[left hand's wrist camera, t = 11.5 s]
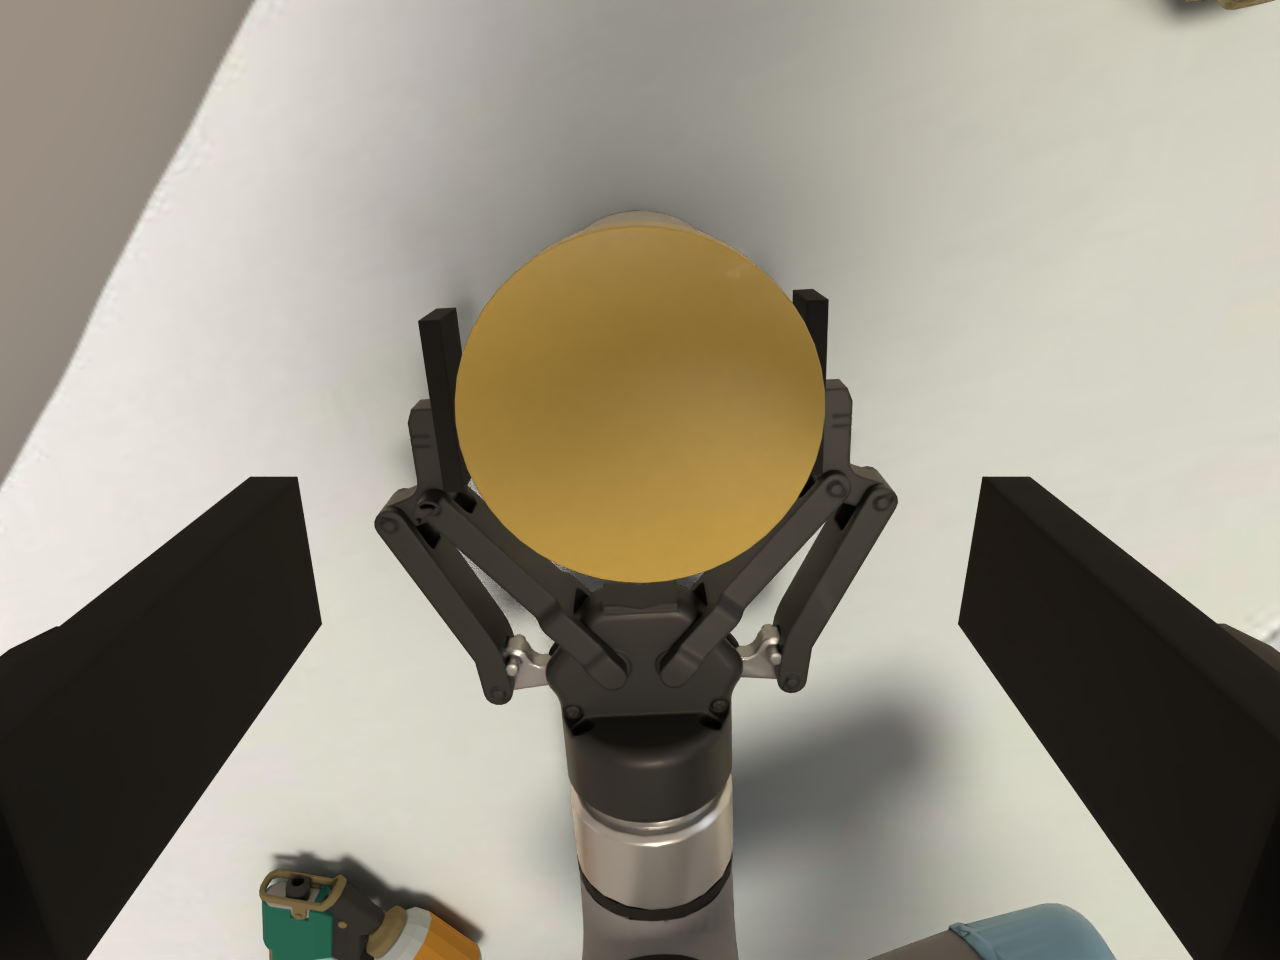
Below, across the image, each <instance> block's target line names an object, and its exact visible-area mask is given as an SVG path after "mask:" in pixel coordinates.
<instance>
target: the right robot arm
mask: <svg viewBox="0 0 1280 960" xmlns="http://www.w3.org/2000/svg"><path fill="white" fill-rule="evenodd" d="M828 301H829V300H828V299H827V298H825V297H824V296H822V295H821V294H819V293H818V292H816V291H815V290H814V289H804V290H793V305H794V306H795V308H796V310H797V311H798V313H799V314H800V316H801V317H802V319H803V321H804V322H805V324H806V327H807V329H808V331H809V333H810V335H811V338H812V340H813V342H814V344H815V348H816V351H817V355H818V358H819V361H820V365H821V369H822V376H823V383H824V389H825V418H824V426H823V434H822V439H821V443H820V447H819V451H818V454H817V458H816V461H815V464H814V466H813V468H812V471H811V473H810V476H809V478H808V480H807V482H806V484H805V486H804V487H803V489H802V491H801V493H800V494H799V496H798V498H797V500H796V501H795V502H794V504H793V505H792V506H791V508H790V509H789V510H788V512H787V513H786V514H785V516H784V517H783V518H782V519H781V520H780V521H779V522H778V523H777V524H776V525H775V526H774V528H773V529H772V530H771V531H770V532H769V533H768V534H767V535H765V536H764V537H763V538H762V539H760V540H759V541H758V542H757V543H755V544H754V545H753V546H752V547H750V548H749V549H748V550H746V551H744V552H743V553H741V554H739V555H738V556H736V557H735V558H733V559H731V560H730V561H727V562H725V563H723V564H721V565H719V566H717V567H714V568H712V569H710V570H707V571H705V572H704V573H703V575H702V576H701V577H700V578H699V579H698V580H697V581H696V582H695V584H694V585H693V586H692V587H691V588H690V589H688V588H686V587H684V586H681V585H677V584H676V579H675V580H669V581H660V582H650V583H647V584H644V585H635V584H630V583H625V582H610V583H604V588H601V589H599V590H596V591H595V592H593V593H591V592H590V591H589V590H588V589H587V588H586V587H585V586H584V585H583V584H582V583H581V582H579V581H578V580H577V579H576V578H575V577H574V576H573V575H572V574H570V573H568V572H565V573H564V572H562V571H561V570H559V569H558V568H557V567H556V566H555V565H554V564H553V563H552V562H551V561H550V560H549V559H547V558H545V557H544V556H542V555H540V554H538V553H537V552H536V551H534V550H533V549H531V548H530V547H529V546H527V545H526V544H524V543H523V542H522V541H520V540H519V539H518V538H517V537H516V536H515V535H514V534H513V533H512V532H511V531H509V530H508V529H507V528H506V527H505V526H504V525H503V524H502V523H501V521H500V520H499V519H498V518H497V517H496V515H495V514H494V513H493V512H492V511H491V509H490V508H489V507H488V505H487V504H486V502H485V501H484V500H483V499H482V498H481V497H480V496H478V495H477V494H476V493H475V492H474V491H473V490H472V489H471V488H470V487H469V486H468V483H469V481H470V479H471V476H470V473H469V471H468V469H467V467H466V463H465V460H464V457H463V454H462V451H461V448H460V444H459V438H458V433H457V427H456V417H455V392H456V381H457V374H458V370H459V366H460V361H461V357H462V349H461V342H460V334H459V327H458V319H457V312H456V308H440V309H435V310H434V311H432V312H431V313H429V314H428V315H426V316H425V317H423V318H422V319H420V320H419V321H418V324H419V330H420V337H421V344H422V350H423V357H424V363H425V370H426V377H427V383H428V390H429V396H430V399H425V400H420V401H419V402H418V403H417V404H416V405H415V406H414V407H413V408H412V409H411V412H410V416H409V420H408V427H409V433H410V437H411V445H412V451H413V458H414V464H415V470H416V476H417V485H416V486H414V487H411V488H409V489H408V488H402V489H399V490H397V491H396V492H395V493H394V494H393V496H392V497H391V498H390V500H389V501H388V502H387V504H386V505H385V506H384V508H383V509H382V510H381V511H380V513H379V514H378V515H377V517H376V519H375V521H374V522H375V529H376V531H377V533H378V534H379V535H380V536H381V538H382V539H383V540H384V542H385V543H386V544H387V546H388V547H389V548H390V550H391V551H392V552H393V554H394V555H395V556H396V558H397V559H398V560H399V562H400V563H401V564H402V566H403V567H404V568H405V570H406V571H407V572H408V574H409V575H410V576H411V578H412V579H413V580H414V582H415V583H416V584H417V586H418V587H419V588H420V590H421V591H422V592H423V594H424V595H425V596H426V598H427V599H428V600H429V602H430V603H431V604H432V606H433V607H434V608H435V610H436V611H437V612H438V614H439V615H440V616H441V618H442V619H443V620H444V621H445V623H446V624H447V625H448V627H449V628H450V629H451V631H452V632H453V633H454V635H455V636H456V637H457V639H458V640H459V641H460V643H461V644H462V645H463V647H464V648H465V649H466V651H467V652H468V653H469V655H470V656H471V657H472V659H473V660H474V661H475V663H476V667H477V670H478V674H479V677H480V681H481V685H482V688H483V692H484V695H485V697H486V699H487V700H488V701H489V702H491V703H493V704H496V705H502V704H506V703H507V702H509V701H510V700H511V698H512V695H513V691H514V690H516V689H523V688H530V687H537V686H544V685H549V686H550V688H551V689H552V690H553V691H554V692H555V694H556V695H557V697H558V699H559V701H560V704H561V709H562V718H563V728H564V737H565V747H566V757H567V766H568V774H569V779H570V782H571V786H570V796H571V805H572V813H573V821H574V830H575V838H576V846H577V858H578V864H579V870H580V877H581V892H582V907H583V926H584V938H583V956H582V960H738V952H737V944H736V934H735V922H734V901H733V880H732V848H733V801H732V776H731V768H732V721H731V696H732V692H733V689H734V687H735V685H736V684H737V682H738V681H739V679H740V677H750V678H769V679H777V682H778V685H779V687H780V688H781V689H782V690H783V691H785V692H788V693H795V692H798V691H800V690H801V689H802V688H803V687H804V686H805V684H806V681H807V675H808V668H809V662H810V656H811V650H812V647H813V645H814V644H815V642H816V640H817V639H818V637H819V635H820V634H821V632H822V630H823V629H824V627H825V625H826V624H827V622H828V620H829V619H830V617H831V615H832V614H833V612H834V610H835V609H836V607H837V605H838V604H839V602H840V600H841V599H842V597H843V595H844V594H845V592H846V590H847V589H848V587H849V585H850V584H851V582H852V580H853V579H854V577H855V575H856V574H857V572H858V570H859V569H860V567H861V565H862V564H863V562H864V560H865V559H866V557H867V555H868V554H869V552H870V550H871V549H872V547H873V545H874V544H875V542H876V540H877V539H878V537H879V535H880V534H881V532H882V530H883V529H884V527H885V525H886V524H887V522H888V520H889V519H890V517H891V515H892V514H893V512H894V510H895V509H896V506H897V504H898V499H897V496H896V494H895V492H894V491H893V490H892V488H891V487H890V486H889V485H888V483H887V482H886V481H885V480H884V478H883V477H882V476H881V475H880V473H879V472H878V471H877V470H876V469H874V468H873V467H869V466H866V467H859V466H856V465H853V464H850V443H851V421H852V417H851V415H852V399H851V396H850V393H849V391H848V388H847V387H846V386H845V385H844V384H843V383H842V382H841V381H840V380H839V379H829V380H826V360H827V330H828ZM826 520H827V521H826ZM825 521H826V523H825ZM824 523H825V524H824ZM823 524H824V526H823V528H822V530H821V531H820V533H819V535H818V537H817V538H816V540H815V542H814V544H813V545H812V547H811V549H810V551H809V552H808V554H807V556H806V558H805V559H804V561H803V563H802V565H801V566H800V568H799V570H798V572H797V573H796V575H795V577H794V579H793V580H792V582H791V584H790V586H789V587H788V589H787V591H786V593H785V594H784V596H783V598H782V600H781V602H780V604H779V606H778V608H777V611H776V614H775V617H774V621H773V625H771V624H765V625H763V626H762V628H761V630H760V631H759V632H758V634H757V637H756V639H755V640H754V641H753V642H752V643H751V644H749V645H746V646H739V644H738V642H737V640H736V639H735V638H734V637H733V635H732V634H731V633H730V632H731V631H732V630H733V629H734V628H735V627H736V626H737V624H738V623H739V622H740V620H741V618H742V615H743V612H744V610H745V608H746V607H747V606H748V605H749V603H750V602H751V601H752V600H753V599H754V598H755V597H756V596H757V595H758V594H759V593H760V592H761V591H762V589H763V588H764V587H765V586H766V585H767V584H768V583H769V582H770V581H771V580H772V579H773V578H774V577H775V575H776V574H777V573H778V572H779V571H780V570H781V569H782V568H783V567H784V566H785V565H786V564H787V562H788V561H789V560H790V559H791V558H792V557H793V556H794V555H795V554H796V553H797V552H798V551H799V550H800V548H801V547H802V546H803V545H804V544H805V543H806V542H807V541H808V540H809V539H810V538H811V537H812V536H813V534H814V533H815V532H816V531H817V530H818V529H819V528H820V527H821V526H822V525H823ZM456 547H457V548H458V549H459V550H460V551H461V552H462V553H463V554H465V555H466V556H467V557H468V558H469V559H470V560H471V561H472V562H474V563H475V564H476V565H477V566H478V567H479V568H480V569H482V570H483V571H484V572H485V573H486V574H487V575H488V576H489V577H491V578H492V579H493V580H494V581H495V582H496V583H497V584H499V585H500V586H501V587H502V588H503V589H504V590H505V591H506V592H508V593H509V594H510V595H511V596H512V597H513V598H514V599H516V600H517V601H518V602H519V603H520V604H521V605H522V606H523V607H525V608H526V609H527V610H528V611H529V612H530V613H531V614H533V615H534V616H535V617H536V619H537V620H538V623H539V625H540V627H541V629H542V630H543V632H544V633H545V634H546V635H548V636H549V637H550V638H551V639H552V640H553V641H554V642H555V643H554V644H553V646H552V647H551V649H550V651H549V654H540V653H537V652H535V651H534V650H533V649H532V648H531V646H530V645H529V643H528V642H527V641H526V638H525V637H524V636H523V635H519V634H518V635H515V636H514V634H513V631H512V628H511V626H510V624H509V622H508V620H507V618H506V617H505V615H504V613H503V612H502V610H501V609H500V608H499V606H498V605H497V603H496V602H495V601H494V599H493V598H492V596H491V595H490V594H489V592H488V591H487V590H486V588H485V587H484V585H483V584H482V583H481V581H480V580H479V578H478V577H477V576H476V574H475V573H474V571H473V570H472V569H471V567H470V566H469V564H468V563H467V562H466V560H465V559H464V558H463V556H462V555H461V553H460V552H459V551H458V549H457V548H456ZM868 960H1116V958H1115V957H1114V955H1113V954H1112V952H1111V950H1110V949H1109V947H1108V946H1107V944H1106V943H1105V941H1104V940H1103V938H1102V937H1101V935H1100V934H1099V933H1098V931H1097V930H1096V929H1095V928H1094V926H1093V925H1092V924H1091V923H1090V922H1089V921H1088V920H1087V919H1086V918H1085V917H1084V916H1083V915H1081V914H1080V913H1079V912H1077V911H1075V910H1074V909H1072V908H1070V907H1068V906H1065V905H1061V904H1049V903H1047V904H1041V905H1037V906H1033V907H1029V908H1025V909H1022V910H1018V911H1014V912H1010V913H1006V914H1003V915H999V916H995V917H991V918H988V919H984V920H980V921H976V922H972V923H969V924H962V923H955V924H953V925H950V926H949V929H948V930H946V931H944V932H941V933H938V934H936V935H933V936H930V937H927V938H925V939H922V940H919V941H917V942H914V943H911V944H908V945H906V946H903V947H900V948H898V949H895V950H892V951H890V952H887V953H884V954H881V955H879V956H876V957H873V958H871V959H868Z"/></svg>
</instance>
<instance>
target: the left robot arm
mask: <svg viewBox="0 0 1280 960" xmlns="http://www.w3.org/2000/svg"><path fill="white" fill-rule="evenodd" d="M321 625H322V621H321V615H320V609H319V603H318V597H317V591H316V585H315V579H314V573H313V567H312V561H311V555H310V549H309V543H308V537H307V531H306V525H305V519H304V513H303V507H302V501H301V495H300V489H299V483H298V477H249V478H248V479H247V480H245V481H244V482H243V483H242V484H240V485H239V486H238V487H237V488H235V489H234V490H233V491H231V492H230V493H229V494H228V495H226V496H225V497H224V498H222V499H221V500H220V501H219V502H217V503H216V504H215V505H214V506H212V507H211V508H210V509H208V510H207V511H206V512H205V513H203V514H202V515H201V516H200V517H198V518H197V519H196V520H194V521H193V522H192V523H191V524H189V525H188V526H187V527H186V528H184V529H183V530H182V531H180V532H179V533H178V534H177V535H175V536H174V537H173V538H172V539H170V540H169V541H168V542H166V543H165V544H164V545H163V546H161V547H160V548H159V549H158V550H156V551H155V552H154V553H152V554H151V555H150V556H149V557H147V558H146V559H145V560H143V561H142V562H141V563H140V564H138V565H137V566H136V567H135V568H133V569H132V570H131V571H129V572H128V573H127V574H126V575H124V576H123V577H122V578H121V579H119V580H118V581H117V582H115V583H114V584H113V585H112V586H110V587H109V588H108V589H107V590H105V591H104V592H103V593H101V594H100V595H99V596H98V597H96V598H95V599H94V600H93V601H91V602H90V603H89V604H87V605H86V606H85V607H84V608H82V609H81V610H80V611H78V612H77V613H76V614H75V615H73V616H72V617H71V618H70V619H68V620H67V621H66V622H64V623H63V624H62V625H61V626H56V627H54V628H52V629H50V630H48V631H46V632H44V633H42V634H40V635H38V636H36V637H34V638H32V639H30V640H28V641H26V642H24V643H21V644H19V645H17V646H15V647H13V648H11V649H9V650H8V651H7V652H5V653H4V654H3V655H1V656H0V960H87V958H88V957H89V955H90V954H91V953H92V951H93V950H94V948H95V947H96V945H97V944H98V943H99V941H100V940H101V938H102V937H103V935H104V934H105V933H106V931H107V930H108V928H109V927H110V925H111V924H112V923H113V921H114V920H115V918H116V917H117V915H118V914H119V913H120V911H121V910H122V908H123V907H124V905H125V904H126V903H127V901H128V900H129V898H130V897H131V896H132V894H133V893H134V891H135V890H136V888H137V887H138V886H139V884H140V883H141V881H142V880H143V878H144V877H145V876H146V874H147V873H148V871H149V870H150V868H151V867H152V866H153V864H154V863H155V861H156V860H157V858H158V857H159V856H160V854H161V853H162V851H163V850H164V848H165V847H166V846H167V844H168V843H169V841H170V840H171V839H172V837H173V836H174V834H175V833H176V831H177V830H178V829H179V827H180V826H181V824H182V823H183V821H184V820H185V819H186V817H187V816H188V814H189V813H190V811H191V810H192V809H193V807H194V806H195V804H196V803H197V801H198V800H199V799H200V797H201V796H202V794H203V793H204V791H205V790H206V789H207V787H208V786H209V784H210V783H211V782H212V780H213V779H214V777H215V776H216V774H217V773H218V772H219V770H220V769H221V767H222V766H223V764H224V763H225V762H226V760H227V759H228V757H229V756H230V754H231V753H232V752H233V750H234V749H235V747H236V746H237V744H238V743H239V742H240V740H241V739H242V737H243V736H244V734H245V733H246V732H247V730H248V729H249V727H250V726H251V725H252V723H253V722H254V720H255V719H256V717H257V716H258V715H259V713H260V712H261V710H262V709H263V707H264V706H265V705H266V703H267V702H268V700H269V699H270V697H271V696H272V695H273V693H274V692H275V690H276V689H277V687H278V686H279V685H280V683H281V682H282V680H283V679H284V677H285V676H286V675H287V673H288V672H289V670H290V669H291V668H292V666H293V665H294V663H295V662H296V660H297V659H298V658H299V656H300V655H301V653H302V652H303V650H304V649H305V648H306V646H307V645H308V643H309V642H310V640H311V639H312V638H313V636H314V635H315V633H316V632H317V630H318V629H319V628H320V626H321ZM958 625H959V626H960V628H961V629H962V630H963V632H964V633H965V635H966V636H967V638H968V639H969V640H970V642H971V643H972V645H973V646H974V648H975V649H976V650H977V652H978V653H979V655H980V656H981V658H982V659H983V660H984V662H985V663H986V665H987V666H988V668H989V669H990V670H991V672H992V673H993V675H994V676H995V677H996V679H997V680H998V682H999V683H1000V685H1001V686H1002V687H1003V689H1004V690H1005V692H1006V693H1007V695H1008V696H1009V697H1010V699H1011V700H1012V702H1013V703H1014V705H1015V706H1016V707H1017V709H1018V710H1019V712H1020V713H1021V715H1022V716H1023V717H1024V719H1025V720H1026V722H1027V723H1028V725H1029V726H1030V727H1031V729H1032V730H1033V732H1034V733H1035V734H1036V736H1037V737H1038V739H1039V740H1040V742H1041V743H1042V744H1043V746H1044V747H1045V749H1046V750H1047V752H1048V753H1049V754H1050V756H1051V757H1052V759H1053V760H1054V762H1055V763H1056V764H1057V766H1058V767H1059V769H1060V770H1061V772H1062V773H1063V774H1064V776H1065V777H1066V779H1067V780H1068V782H1069V783H1070V784H1071V786H1072V787H1073V789H1074V790H1075V791H1076V793H1077V794H1078V796H1079V797H1080V799H1081V800H1082V801H1083V803H1084V804H1085V806H1086V807H1087V809H1088V810H1089V811H1090V813H1091V814H1092V816H1093V817H1094V819H1095V820H1096V821H1097V823H1098V824H1099V826H1100V827H1101V829H1102V830H1103V831H1104V833H1105V834H1106V836H1107V837H1108V839H1109V840H1110V841H1111V843H1112V844H1113V846H1114V847H1115V848H1116V850H1117V851H1118V853H1119V854H1120V856H1121V857H1122V858H1123V860H1124V861H1125V863H1126V864H1127V866H1128V867H1129V868H1130V870H1131V871H1132V873H1133V874H1134V876H1135V877H1136V878H1137V880H1138V881H1139V883H1140V884H1141V886H1142V887H1143V888H1144V890H1145V891H1146V893H1147V894H1148V896H1149V897H1150V898H1151V900H1152V901H1153V903H1154V904H1155V905H1156V907H1157V908H1158V910H1159V911H1160V913H1161V914H1162V915H1163V917H1164V918H1165V920H1166V921H1167V923H1168V924H1169V925H1170V927H1171V928H1172V930H1173V931H1174V933H1175V934H1176V935H1177V937H1178V938H1179V940H1180V941H1181V943H1182V944H1183V945H1184V947H1185V948H1186V950H1187V951H1188V953H1189V954H1190V955H1191V957H1192V958H1193V960H1280V653H1279V652H1278V651H1277V650H1276V649H1274V648H1273V647H1272V646H1270V645H1267V644H1265V643H1263V642H1261V641H1259V640H1257V639H1255V638H1253V637H1251V636H1249V635H1247V634H1245V633H1243V632H1241V631H1239V630H1237V629H1235V628H1233V627H1231V626H1229V625H1227V624H1217V623H1216V622H1214V621H1213V620H1212V619H1210V618H1209V617H1208V616H1207V615H1205V614H1204V613H1203V612H1202V611H1200V610H1199V609H1198V608H1196V607H1195V606H1194V605H1193V604H1191V603H1190V602H1189V601H1187V600H1186V599H1185V598H1184V597H1182V596H1181V595H1180V594H1179V593H1177V592H1176V591H1175V590H1173V589H1172V588H1171V587H1170V586H1168V585H1167V584H1166V583H1165V582H1163V581H1162V580H1161V579H1159V578H1158V577H1157V576H1156V575H1154V574H1153V573H1152V572H1151V571H1149V570H1148V569H1147V568H1145V567H1144V566H1143V565H1142V564H1140V563H1139V562H1138V561H1137V560H1135V559H1134V558H1133V557H1131V556H1130V555H1129V554H1128V553H1126V552H1125V551H1124V550H1122V549H1121V548H1120V547H1119V546H1117V545H1116V544H1115V543H1114V542H1112V541H1111V540H1110V539H1108V538H1107V537H1106V536H1105V535H1103V534H1102V533H1101V532H1100V531H1098V530H1097V529H1096V528H1094V527H1093V526H1092V525H1091V524H1089V523H1088V522H1087V521H1086V520H1084V519H1083V518H1082V517H1080V516H1079V515H1078V514H1077V513H1075V512H1074V511H1073V510H1072V509H1070V508H1069V507H1068V506H1066V505H1065V504H1064V503H1063V502H1061V501H1060V500H1059V499H1058V498H1056V497H1055V496H1054V495H1052V494H1051V493H1050V492H1049V491H1047V490H1046V489H1045V488H1043V487H1042V486H1041V485H1040V484H1038V483H1037V482H1036V481H1035V480H1033V479H1032V478H1031V477H982V483H981V489H980V495H979V501H978V507H977V513H976V519H975V525H974V531H973V537H972V543H971V549H970V555H969V561H968V567H967V573H966V579H965V585H964V591H963V597H962V603H961V609H960V615H959V621H958Z"/></svg>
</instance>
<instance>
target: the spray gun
mask: <svg viewBox="0 0 1280 960" xmlns="http://www.w3.org/2000/svg"><path fill="white" fill-rule="evenodd" d="M277 877H283V878H289V879H290V880H289V881H288V882H287V883H285V882H279V883H276V884H274V885H271V886H270V887H268V885H269V883H270V882H271V881H272V880H273V879H275V878H277ZM346 882H347V879H346V878H345V877H344V876H342V875H341V874H340V875H337V876H336V877H335V878H328V877H323V876H317V875H311V874H305V873H300V872H294V871H288V870H282V869H281V870H274V871H272V872H270V873H269V874H268V875H267V876H266V877H265V879H264V881H263V882H262V884H261V886H260V890H259V894H260V898H261V900H262V916H263V940H264V943H265V945H266V947H267V948H268V949H269V957H270V960H482V958H481V952H480V949H479V946H478V945H477V944H476V943H474V942H473V941H471V940H470V939H468V938H467V937H466V936H464V935H463V934H461V933H460V932H458V931H457V930H456V929H454V928H453V927H451V926H450V925H448V924H447V923H446V922H444V921H443V920H441V919H440V918H438V917H437V916H436V915H434V914H433V913H431V912H430V911H427V910H424V909H421V908H418V907H413V908H410V909H407V910H405V909H403V908H402V907H400V906H398V905H397V906H394V907H392V908H390V909H389V910H388V911H387V912H385V913H383V911H382V910H381V909H380V908H379V907H378V906H377V905H375V904H374V903H373V902H372V901H370V900H369V899H368V898H367V897H366V896H364V895H363V894H362V893H361V892H360V891H358V890H357V889H356V888H355V887H353V886H352V885H351V884H350V883H346ZM319 884H324V885H323V886H322V887H321V889H319ZM327 885H330V886H334V887H333V888H332V889H330V888H329V887H328V886H327ZM267 887H268V888H267ZM266 888H267V889H266ZM367 934H369V939H368V942H367V943H366V935H367Z"/></svg>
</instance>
